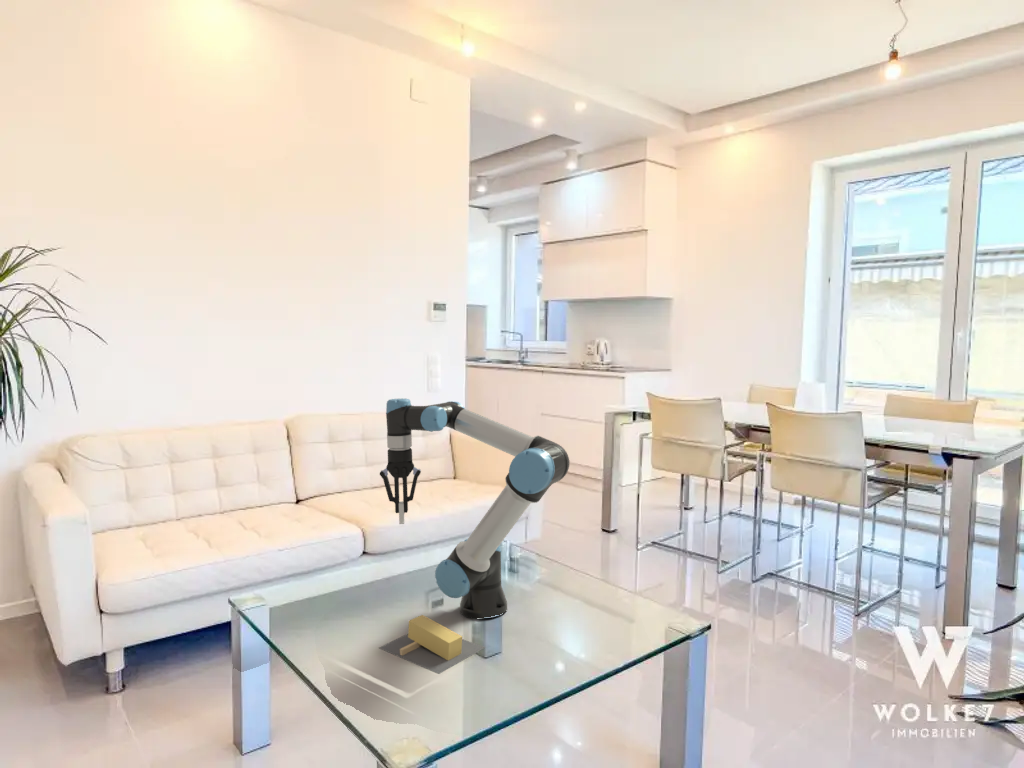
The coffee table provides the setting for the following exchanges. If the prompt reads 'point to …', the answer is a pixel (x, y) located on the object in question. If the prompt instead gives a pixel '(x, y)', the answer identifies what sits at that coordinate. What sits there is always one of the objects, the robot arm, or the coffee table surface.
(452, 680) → the coffee table surface
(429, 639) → the mustard block
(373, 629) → the coffee table surface
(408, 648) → the tipping mat
